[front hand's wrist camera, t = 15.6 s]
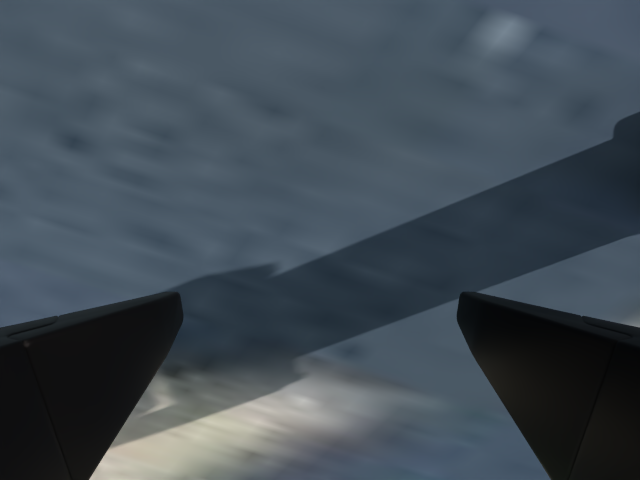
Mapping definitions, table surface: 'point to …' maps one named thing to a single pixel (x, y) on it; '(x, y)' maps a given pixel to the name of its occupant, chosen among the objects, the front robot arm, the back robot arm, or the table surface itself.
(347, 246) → the table surface
